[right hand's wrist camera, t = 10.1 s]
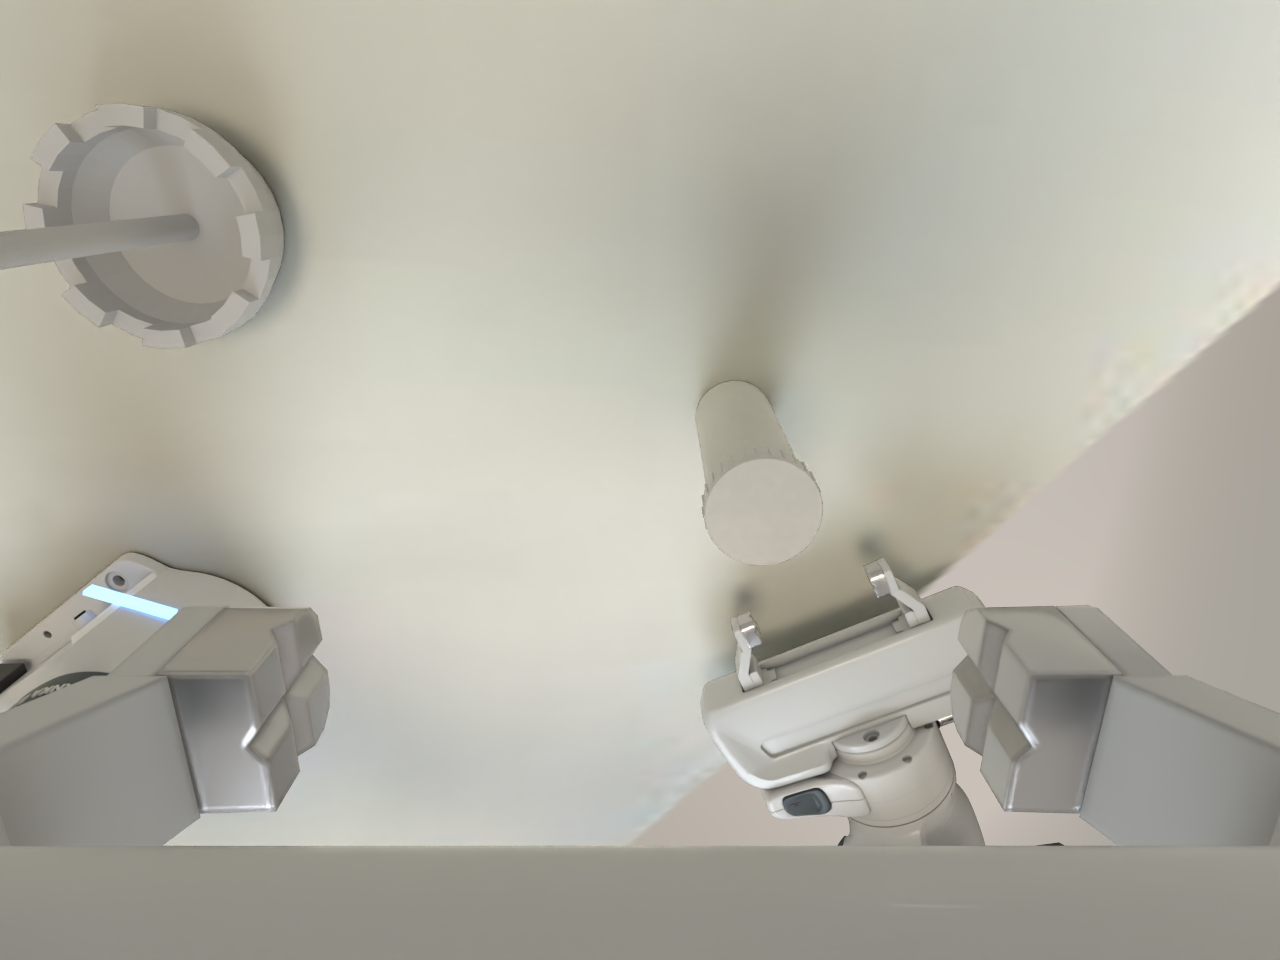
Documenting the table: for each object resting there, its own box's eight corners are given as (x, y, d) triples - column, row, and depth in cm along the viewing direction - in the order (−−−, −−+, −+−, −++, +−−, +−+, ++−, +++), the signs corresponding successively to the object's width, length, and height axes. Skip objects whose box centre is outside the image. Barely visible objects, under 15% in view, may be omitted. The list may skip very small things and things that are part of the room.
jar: (688, 390, 52) (700, 474, 38) (763, 372, 52) (805, 450, 38) (704, 460, 54) (722, 565, 40) (777, 443, 54) (822, 544, 39)
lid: (690, 460, 39) (691, 472, 38) (807, 434, 38) (813, 445, 37) (715, 562, 41) (717, 577, 40) (826, 539, 40) (832, 553, 39)
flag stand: (43, 159, 48) (-819, 146, 20) (230, 74, 46) (-431, -72, 18) (163, 359, 52) (-404, 580, 24) (338, 289, 50) (-58, 442, 22)
